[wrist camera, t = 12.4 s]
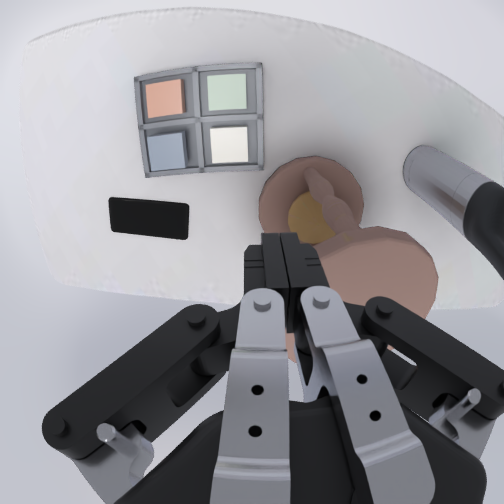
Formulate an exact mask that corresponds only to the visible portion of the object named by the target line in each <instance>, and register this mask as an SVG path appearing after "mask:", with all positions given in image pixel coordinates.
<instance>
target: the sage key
mask: <svg viewBox="0 0 504 504" xmlns="http://www.w3.org/2000/svg"><path fill="white" fill-rule="evenodd" d="M207 83H208V104H209V111H212V110H228V109H247V105H246V74H226V75H213V76H207Z"/></svg>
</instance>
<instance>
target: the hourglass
mask: <svg viewBox="0 0 504 504" xmlns="http://www.w3.org/2000/svg"><path fill="white" fill-rule="evenodd" d="M363 207H364V202H363V197H362V191H361V187H360V186H359V184H358V183H357V181H356V179H355V178H354V176H353V175H352V173H351V172H350V171H348V170H347V169H346V168H344V167H343V166H341V165H340V164H339V163H337V162H336V161H334V160H330V159H326V158H322V157H317V156H312V157H304V158H297V159H295V160H293V161H291V162H289V163H287V164H285V165H283V166H281V167H279V168H278V169H277V170H276V171H275V172H274V173H273V175H272V176H271V177H270V178H269V179H268V180H267V181H266V183H265V185H264V188H263V190H262V193H261V195H260V198H259V220H260V223H261V225H262V228H263V230H264V233H284V232H297V235H298V238H299V241H300V244H305V243H309V244H310V245H311V246H312V247H314V248H315V249H316V251H317V253H318V256H319V259H320V261H321V264H322V267H323V269H324V272H325V275H326V277H327V280H328V283H329V286H330V288H331V289H333V290H334V291H336V292H337V293H338V294H339V295H340V297H341V299H342V301H344V302H347V303H351V304H356V305H362V306H365V304H366V302H367V301H368V300H369V299H370V298H372V297H376V296H383V297H387V298H390V299H392V300H394V301H396V302H397V303H399V304H401V305H402V306H404V307H406V308H407V309H409V310H410V311H412V312H414V313H415V314H417V315H419V316H420V317H422V318H423V319H425V318H426V316H427V314H428V313H429V311H430V309H431V307H432V305H433V303H434V301H435V298H436V291H437V285H438V274H437V271H436V268H435V265H434V262H433V259H432V257H431V255H430V254H429V253H428V252H427V250H426V249H425V248H424V247H423V246H421V245H420V244H419V243H418V242H417V241H416V240H414V239H413V238H412V237H411V236H410V235H408V234H407V233H406V232H402V231H397V230H393V229H389V228H384V227H379V226H376V227H369V228H363V229H361V228H360V227H359V226H358V225H359V223H360V222H361V217H362V212H363ZM294 342H295V338H294V333H286V327H285V344H286V349H287V352H288V358H289V359H291V360H292V361H293V362H295V363H297V362H296V358H295V354H294ZM387 348H388V349H389V350H392V349H394V348H393V347H391V346H390V345H388V347H387Z"/></svg>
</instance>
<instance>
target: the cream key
mask: <svg viewBox="0 0 504 504" xmlns="http://www.w3.org/2000/svg"><path fill="white" fill-rule="evenodd" d="M210 137H211V152H212V163H227V162H248V140H247V125H241V126H221V127H211V128H210Z"/></svg>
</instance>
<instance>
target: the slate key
mask: <svg viewBox="0 0 504 504" xmlns="http://www.w3.org/2000/svg"><path fill="white" fill-rule="evenodd" d="M147 143H148V150H149V158H150V164H151V171H158V170H168V169H178V168H186V166H187V165H188V158H187V148H186V137H185V131H178V132H169V133H162V134H155V135H150V136H149V137H147Z"/></svg>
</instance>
